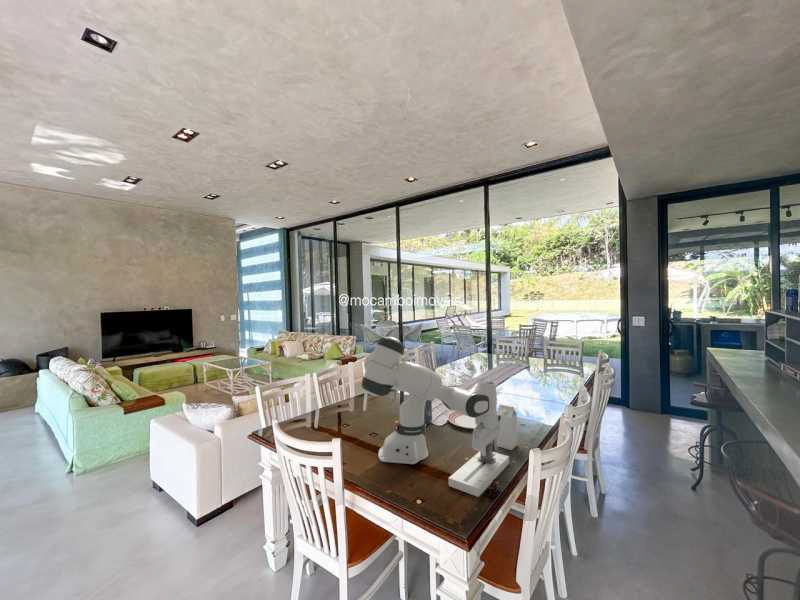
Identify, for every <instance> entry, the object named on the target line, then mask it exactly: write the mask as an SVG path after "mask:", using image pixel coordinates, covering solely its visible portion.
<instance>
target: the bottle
mask: <svg viewBox="0 0 800 600" xmlns="http://www.w3.org/2000/svg"><path fill="white" fill-rule="evenodd" d="M432 401H433V400H426V403H425V408H424V422H425V424H427V423H426V422H429V423H431V422H432V421H433V410H432V409H433V408H432V405H433V404H432V403H433V402H432ZM431 420H432V421H431ZM430 421H431V422H430Z"/></svg>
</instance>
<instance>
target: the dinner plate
mask: <svg viewBox="0 0 800 600" xmlns="http://www.w3.org/2000/svg"><path fill="white" fill-rule="evenodd" d="M447 420H448V422H450V423H451V424H452V425H455V426H456V427H460V428H463V429H467V430H474V429H475V428H476V426H477V425H476V424H475V418H473V417H469V416H466V415H464V414H461V413H459V412H457V411H452V412H450V413H449V414H448V415H447Z"/></svg>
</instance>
